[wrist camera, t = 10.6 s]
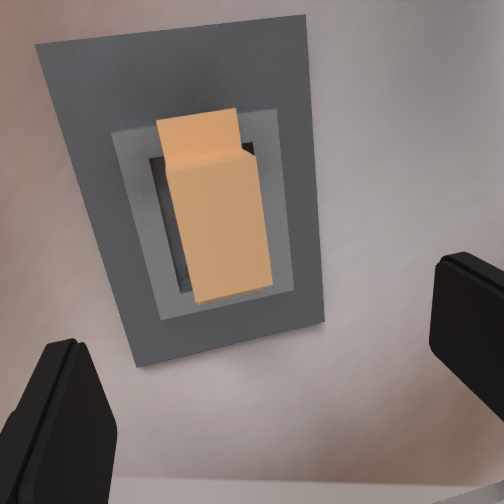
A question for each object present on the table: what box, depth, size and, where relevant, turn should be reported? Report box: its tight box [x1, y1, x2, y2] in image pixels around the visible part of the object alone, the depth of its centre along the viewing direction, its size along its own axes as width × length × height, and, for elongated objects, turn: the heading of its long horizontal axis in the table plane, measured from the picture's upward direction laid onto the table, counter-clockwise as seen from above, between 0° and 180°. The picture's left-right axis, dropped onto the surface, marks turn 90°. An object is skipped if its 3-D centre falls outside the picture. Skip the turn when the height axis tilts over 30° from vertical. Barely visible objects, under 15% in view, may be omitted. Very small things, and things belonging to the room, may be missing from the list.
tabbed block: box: [156, 108, 273, 305], centre depth 20 cm, size 10×4×6 cm, turn 8°
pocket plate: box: [35, 14, 325, 367], centre depth 23 cm, size 20×14×3 cm
